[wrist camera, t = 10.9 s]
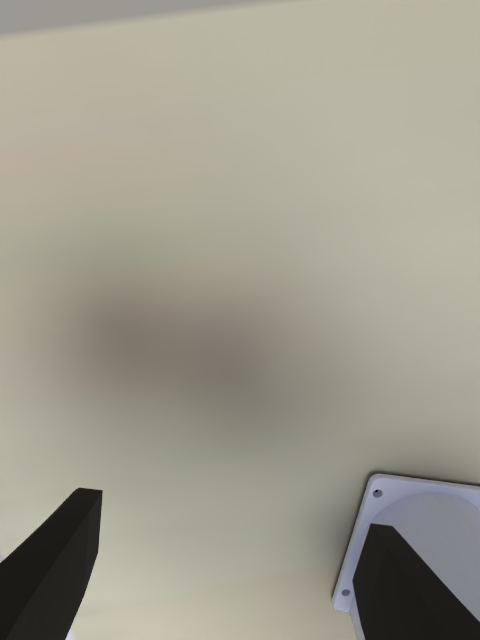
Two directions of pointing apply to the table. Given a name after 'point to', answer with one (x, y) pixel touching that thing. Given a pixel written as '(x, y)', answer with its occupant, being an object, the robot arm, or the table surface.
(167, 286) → the table surface
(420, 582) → the robot arm
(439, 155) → the table surface
